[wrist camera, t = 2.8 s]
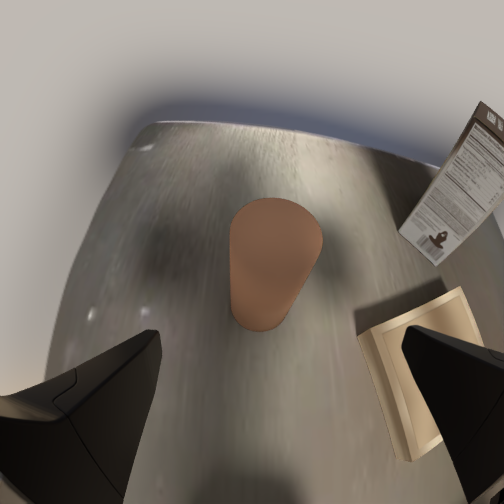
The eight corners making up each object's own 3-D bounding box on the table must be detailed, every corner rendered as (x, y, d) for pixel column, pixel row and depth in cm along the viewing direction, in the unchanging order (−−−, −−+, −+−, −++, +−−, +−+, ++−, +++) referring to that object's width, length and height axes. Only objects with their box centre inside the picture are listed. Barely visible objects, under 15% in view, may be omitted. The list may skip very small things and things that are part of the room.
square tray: (396, 458, 15) (412, 462, 13) (357, 336, 21) (370, 328, 19) (480, 394, 17) (496, 390, 15) (446, 296, 23) (460, 285, 21)
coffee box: (421, 195, 30) (480, 98, 17) (456, 227, 28) (524, 138, 15) (395, 232, 27) (473, 112, 13) (436, 270, 25) (532, 168, 11)
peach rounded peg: (238, 338, 21) (243, 286, 12) (224, 285, 23) (220, 205, 14) (295, 323, 21) (336, 263, 13) (277, 273, 24) (303, 192, 15)
